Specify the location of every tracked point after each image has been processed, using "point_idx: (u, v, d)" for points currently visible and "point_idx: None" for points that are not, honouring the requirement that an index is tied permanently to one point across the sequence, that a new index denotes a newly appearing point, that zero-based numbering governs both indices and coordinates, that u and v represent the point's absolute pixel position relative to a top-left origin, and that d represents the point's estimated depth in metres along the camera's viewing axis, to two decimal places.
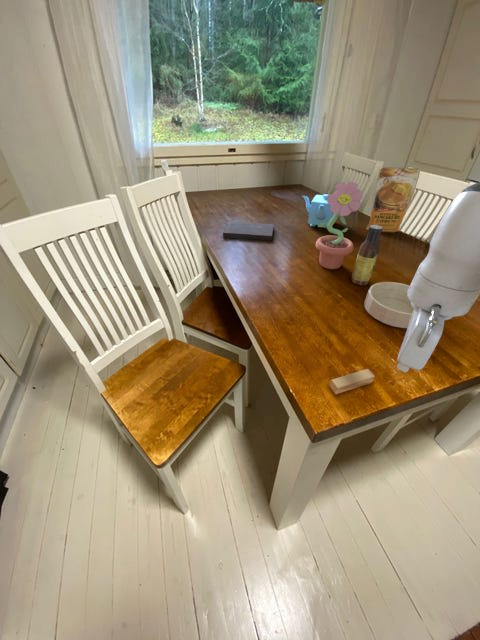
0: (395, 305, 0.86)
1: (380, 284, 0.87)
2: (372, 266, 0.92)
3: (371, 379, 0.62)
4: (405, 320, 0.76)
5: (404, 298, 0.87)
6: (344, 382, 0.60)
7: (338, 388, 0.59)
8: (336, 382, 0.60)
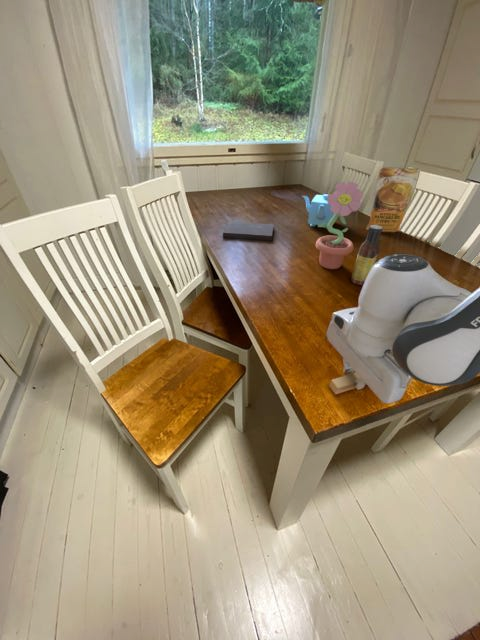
0: None
1: None
2: (372, 266, 0.92)
3: None
4: None
5: None
6: (344, 383, 0.60)
7: (338, 388, 0.59)
8: (336, 382, 0.60)
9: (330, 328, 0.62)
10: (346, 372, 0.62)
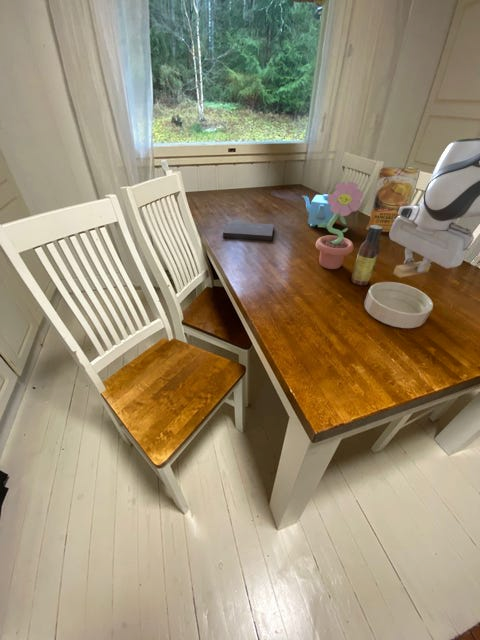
0: (395, 305, 0.86)
1: (380, 284, 0.87)
2: (372, 266, 0.92)
3: (428, 267, 0.75)
4: (405, 320, 0.76)
5: (404, 298, 0.87)
6: (407, 267, 0.73)
7: (402, 270, 0.73)
8: (400, 267, 0.74)
9: (394, 225, 0.75)
10: (407, 261, 0.75)
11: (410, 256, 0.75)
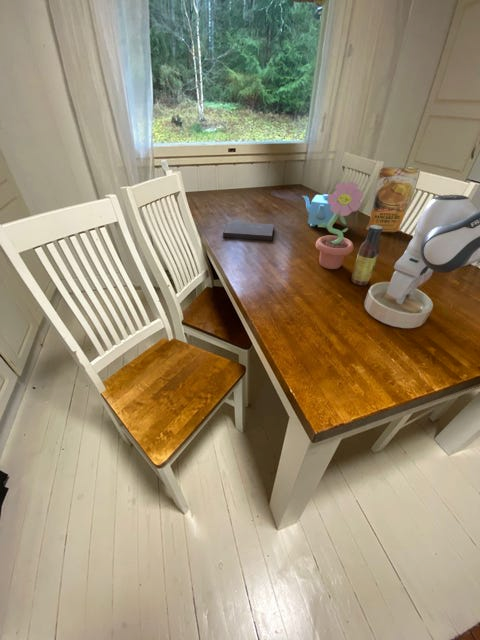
0: (395, 305, 0.86)
1: (380, 284, 0.87)
2: (372, 266, 0.92)
3: None
4: (405, 320, 0.76)
5: None
6: (414, 301, 0.80)
7: None
8: (418, 305, 0.79)
9: (407, 287, 0.71)
10: (404, 299, 0.80)
11: None
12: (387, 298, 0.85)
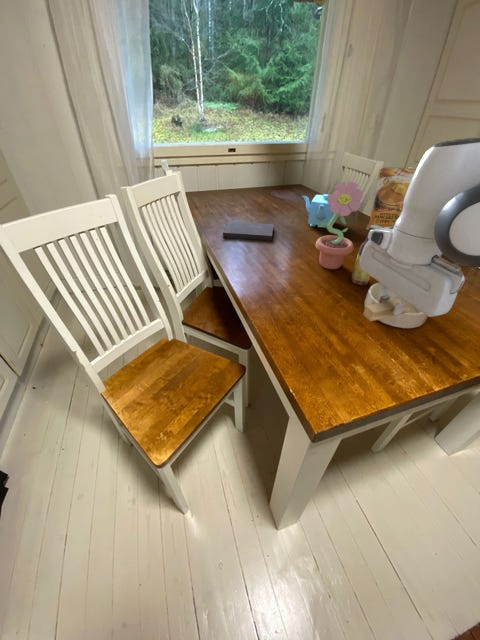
0: None
1: None
2: None
3: (408, 307, 0.58)
4: (405, 320, 0.76)
5: None
6: (380, 308, 0.56)
7: (373, 313, 0.55)
8: (371, 307, 0.56)
9: (364, 252, 0.58)
10: (382, 299, 0.58)
11: (385, 292, 0.58)
12: None
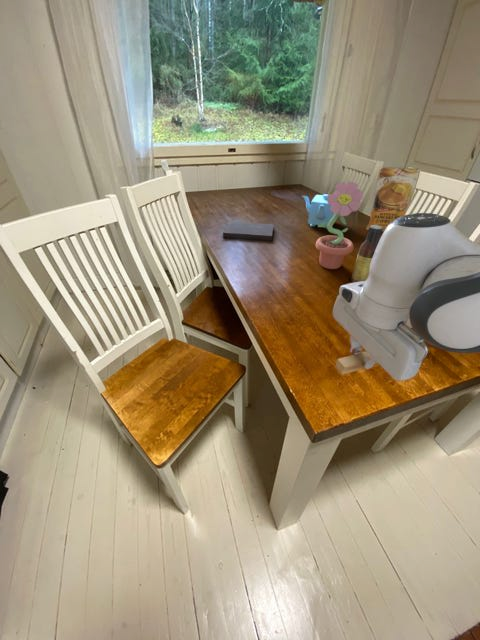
0: None
1: None
2: None
3: None
4: None
5: None
6: (351, 362, 0.56)
7: (344, 368, 0.55)
8: (343, 361, 0.56)
9: (337, 304, 0.58)
10: (354, 351, 0.58)
11: (357, 344, 0.58)
12: None
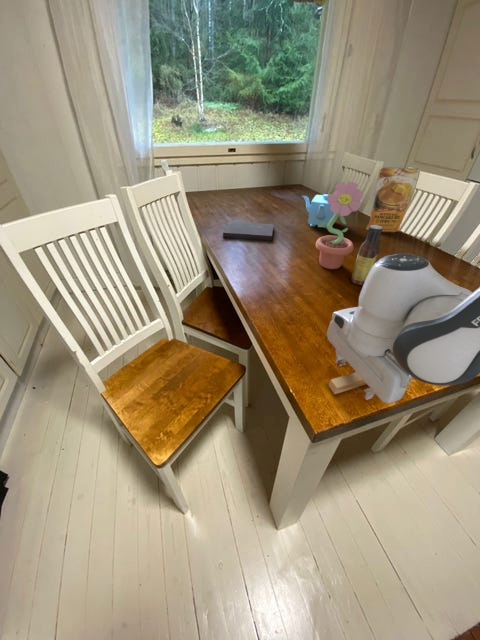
0: None
1: None
2: (372, 266, 0.92)
3: None
4: None
5: None
6: (343, 382, 0.60)
7: (337, 388, 0.59)
8: (335, 382, 0.60)
9: (330, 328, 0.62)
10: (339, 363, 0.64)
11: (342, 357, 0.64)
12: None
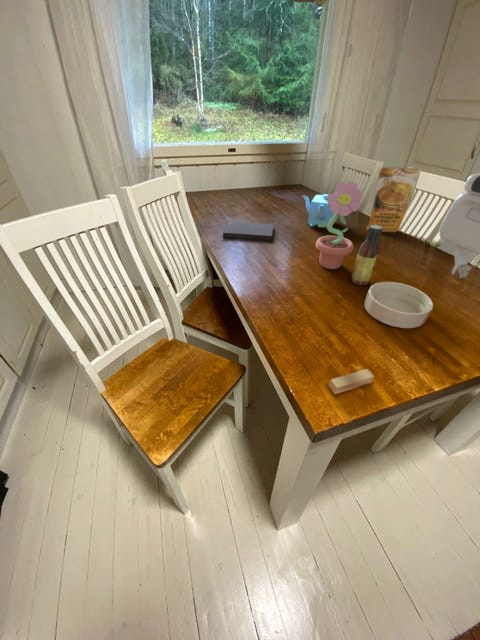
0: (395, 305, 0.86)
1: (380, 284, 0.87)
2: (372, 266, 0.92)
3: (370, 379, 0.62)
4: (405, 320, 0.76)
5: (404, 298, 0.87)
6: (343, 382, 0.60)
7: (337, 388, 0.59)
8: (335, 382, 0.60)
9: (453, 212, 0.41)
10: (460, 270, 0.42)
11: (464, 261, 0.43)
12: None
